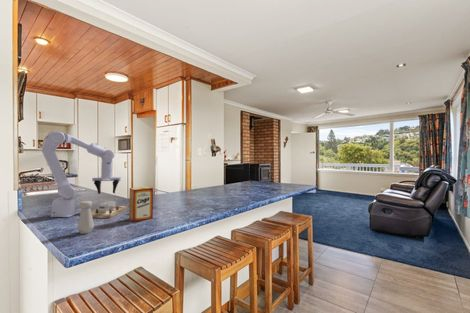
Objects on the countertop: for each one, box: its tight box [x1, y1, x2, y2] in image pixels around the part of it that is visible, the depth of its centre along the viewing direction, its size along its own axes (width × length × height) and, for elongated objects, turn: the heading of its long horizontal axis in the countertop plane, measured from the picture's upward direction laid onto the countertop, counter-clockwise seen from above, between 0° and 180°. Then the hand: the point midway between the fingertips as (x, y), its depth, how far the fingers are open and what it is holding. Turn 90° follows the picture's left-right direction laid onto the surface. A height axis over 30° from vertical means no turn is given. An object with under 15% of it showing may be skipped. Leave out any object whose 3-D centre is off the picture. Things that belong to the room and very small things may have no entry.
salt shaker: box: [77, 200, 95, 235], centre depth 93 cm, size 6×6×13 cm
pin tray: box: [91, 205, 128, 219], centre depth 122 cm, size 13×17×3 cm
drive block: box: [97, 200, 116, 214], centre depth 122 cm, size 4×9×5 cm, turn 179°
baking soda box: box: [128, 186, 154, 223], centre depth 114 cm, size 10×6×16 cm
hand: (106, 193), depth 131 cm, fingers open, 7 cm apart
